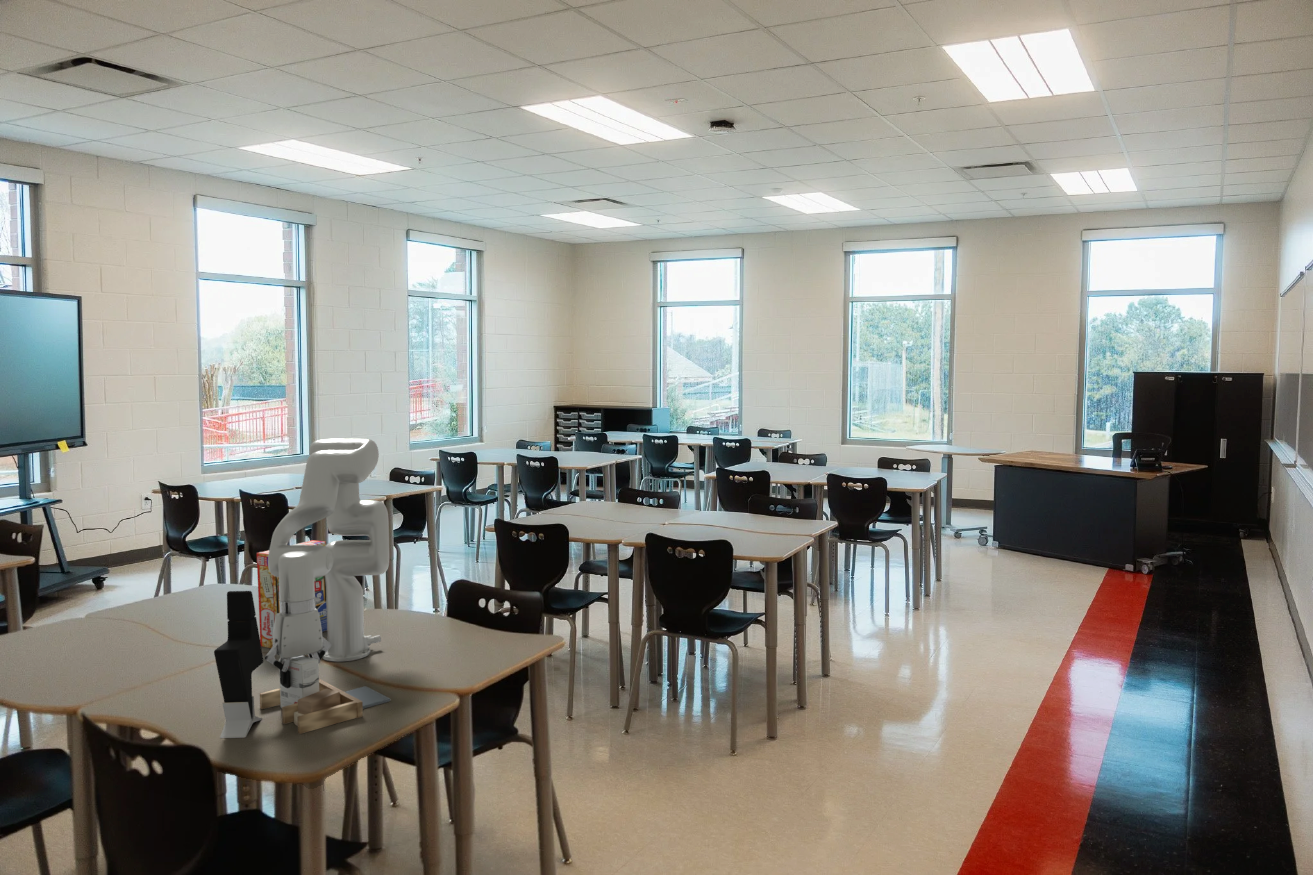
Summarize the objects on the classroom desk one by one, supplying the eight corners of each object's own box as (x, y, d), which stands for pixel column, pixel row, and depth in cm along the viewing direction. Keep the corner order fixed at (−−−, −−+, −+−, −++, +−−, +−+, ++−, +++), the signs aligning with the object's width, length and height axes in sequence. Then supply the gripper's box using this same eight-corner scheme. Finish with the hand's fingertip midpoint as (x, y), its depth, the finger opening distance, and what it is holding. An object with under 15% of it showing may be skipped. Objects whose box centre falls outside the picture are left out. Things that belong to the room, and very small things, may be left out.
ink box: (321, 708, 210) (320, 658, 210) (303, 715, 206) (301, 664, 205) (297, 701, 215) (296, 652, 214) (279, 707, 211) (277, 657, 210)
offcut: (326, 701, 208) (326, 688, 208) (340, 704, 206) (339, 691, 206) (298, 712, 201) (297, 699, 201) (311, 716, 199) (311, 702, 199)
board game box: (315, 628, 276) (312, 539, 274) (330, 630, 273) (328, 541, 271) (258, 646, 257) (255, 551, 255) (274, 649, 255) (271, 553, 253)
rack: (318, 692, 221) (318, 678, 221) (362, 716, 206) (362, 701, 205) (259, 707, 211) (258, 692, 211) (301, 734, 196) (300, 718, 195)
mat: (365, 688, 224) (365, 685, 224) (390, 700, 215) (390, 698, 215) (334, 696, 218) (334, 694, 218) (358, 709, 210) (358, 707, 210)
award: (242, 714, 207) (238, 584, 204) (266, 714, 207) (262, 583, 205) (215, 742, 192) (210, 601, 189) (241, 741, 192) (236, 600, 190)
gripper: (326, 596, 218) (327, 670, 219) (252, 610, 205) (255, 688, 207) (340, 602, 212) (342, 678, 214) (266, 616, 200) (268, 697, 202)
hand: (299, 682), depth 210 cm, fingers closed on ink box, 5 cm apart
